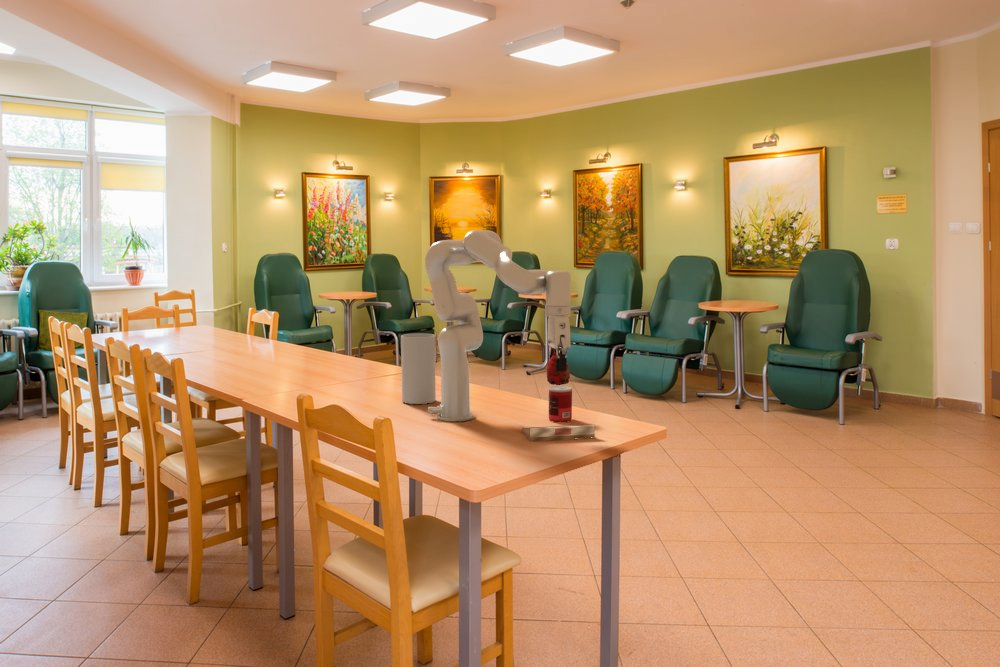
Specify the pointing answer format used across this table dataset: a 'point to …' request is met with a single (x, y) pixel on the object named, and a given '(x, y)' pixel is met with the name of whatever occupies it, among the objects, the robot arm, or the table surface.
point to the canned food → (560, 403)
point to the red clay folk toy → (556, 372)
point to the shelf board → (559, 432)
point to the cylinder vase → (418, 368)
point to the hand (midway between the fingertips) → (557, 368)
